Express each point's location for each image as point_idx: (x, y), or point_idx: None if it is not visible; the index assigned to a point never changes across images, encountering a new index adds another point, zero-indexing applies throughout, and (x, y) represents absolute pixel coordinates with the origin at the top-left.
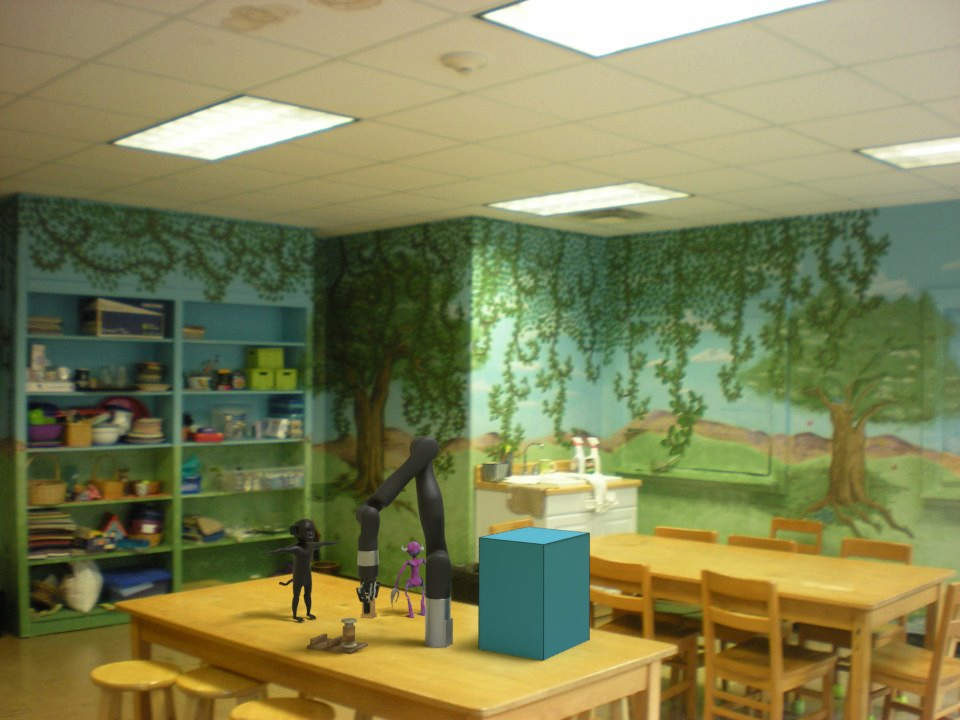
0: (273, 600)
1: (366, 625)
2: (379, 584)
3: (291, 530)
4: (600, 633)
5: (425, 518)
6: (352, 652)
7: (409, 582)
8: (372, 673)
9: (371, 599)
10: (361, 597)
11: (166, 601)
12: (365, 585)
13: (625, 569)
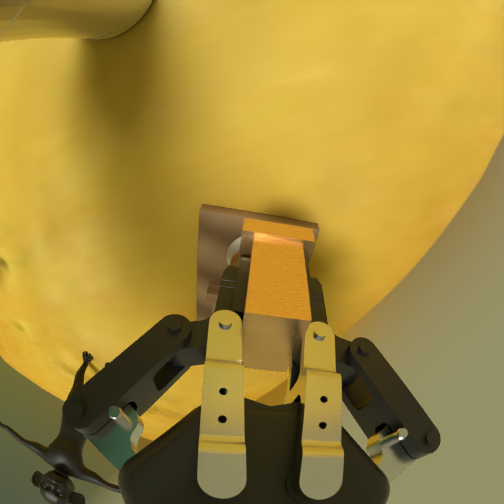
0: (71, 385)
1: (51, 275)
2: (84, 403)
3: (81, 501)
4: None
5: None
6: (307, 224)
7: None
8: (485, 116)
9: (242, 335)
10: (348, 391)
11: (144, 434)
12: (383, 477)
13: None
